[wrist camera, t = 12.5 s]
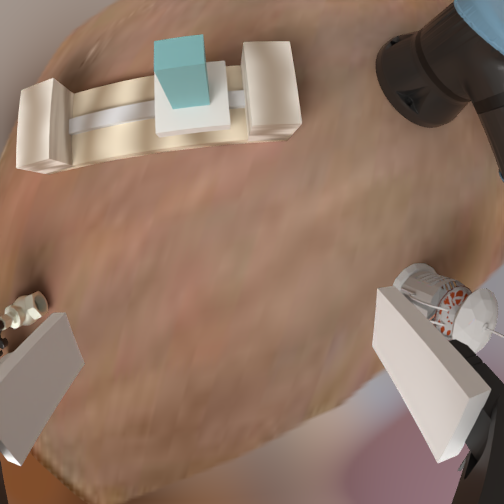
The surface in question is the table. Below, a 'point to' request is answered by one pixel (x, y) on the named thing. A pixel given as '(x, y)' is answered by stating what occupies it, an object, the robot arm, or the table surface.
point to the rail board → (153, 115)
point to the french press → (450, 305)
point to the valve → (23, 313)
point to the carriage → (188, 88)
